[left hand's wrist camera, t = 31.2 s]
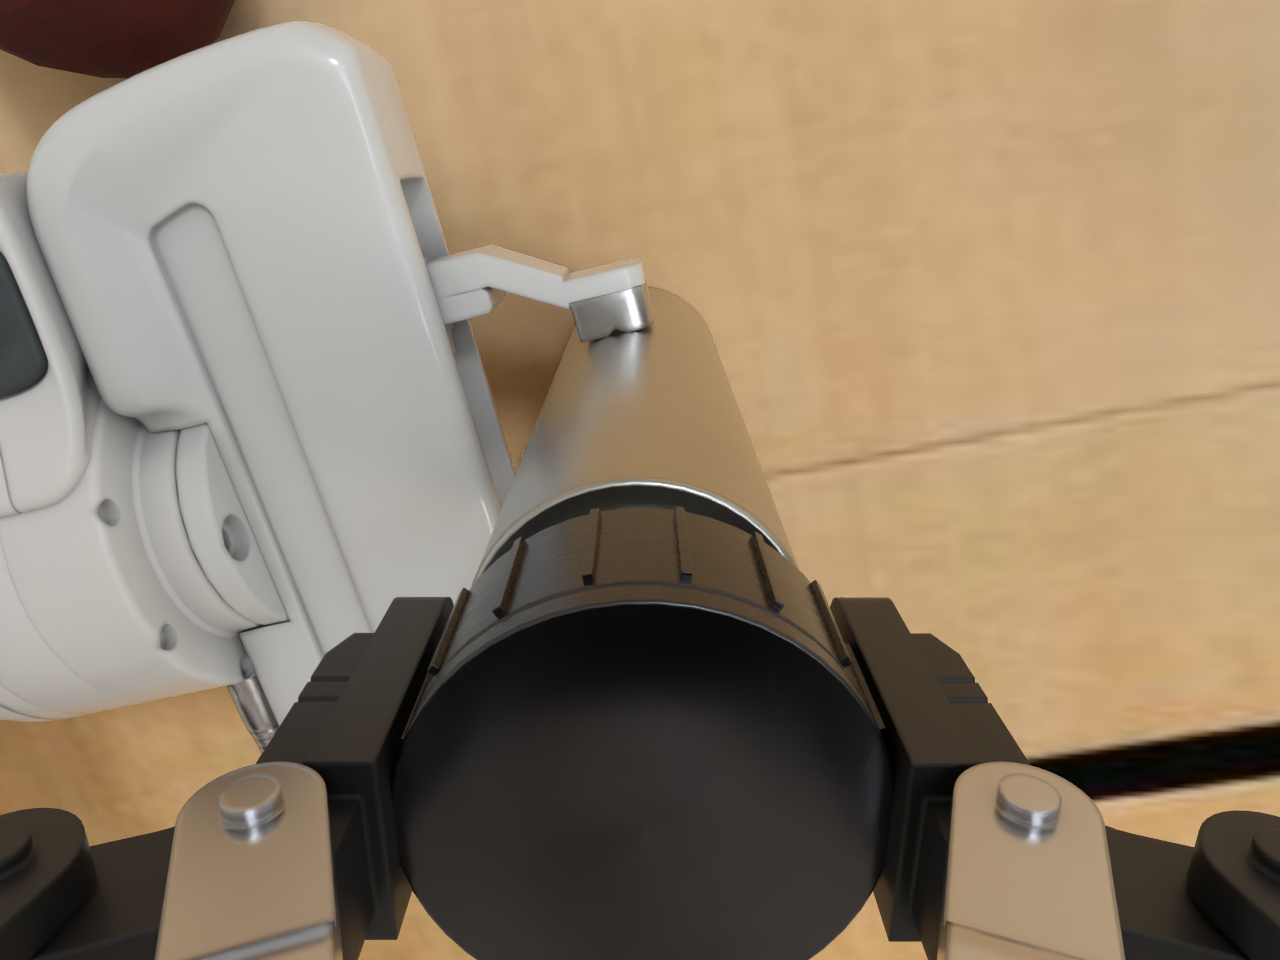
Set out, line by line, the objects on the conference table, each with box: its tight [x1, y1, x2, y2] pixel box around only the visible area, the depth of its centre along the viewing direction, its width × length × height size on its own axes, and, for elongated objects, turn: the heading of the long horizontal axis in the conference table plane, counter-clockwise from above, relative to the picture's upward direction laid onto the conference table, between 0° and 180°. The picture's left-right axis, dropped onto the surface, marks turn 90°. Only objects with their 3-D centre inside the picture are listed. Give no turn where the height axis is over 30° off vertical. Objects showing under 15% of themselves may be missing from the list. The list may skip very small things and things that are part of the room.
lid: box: [391, 506, 895, 960], centre depth 10 cm, size 5×5×2 cm
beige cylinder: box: [471, 287, 800, 587], centre depth 19 cm, size 5×5×19 cm
